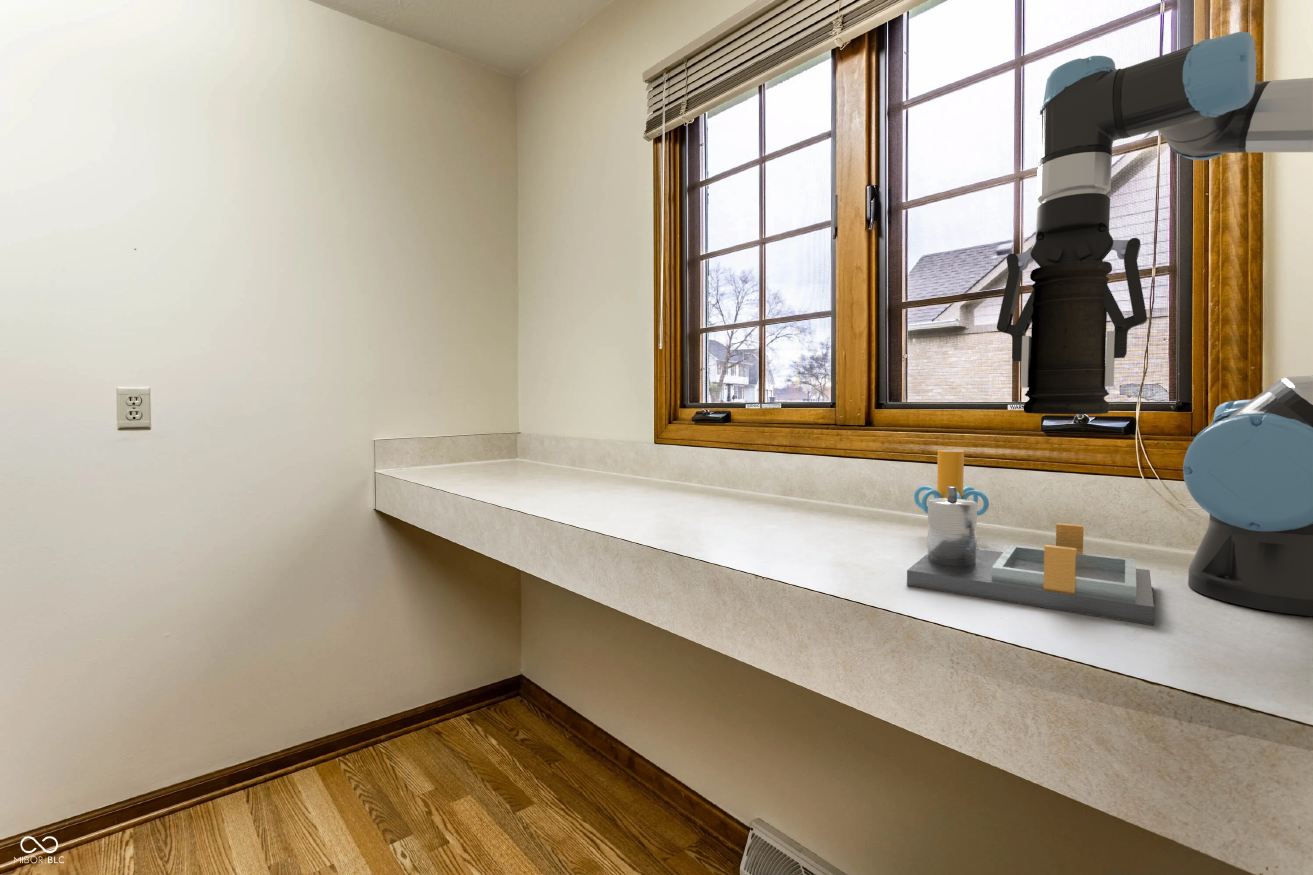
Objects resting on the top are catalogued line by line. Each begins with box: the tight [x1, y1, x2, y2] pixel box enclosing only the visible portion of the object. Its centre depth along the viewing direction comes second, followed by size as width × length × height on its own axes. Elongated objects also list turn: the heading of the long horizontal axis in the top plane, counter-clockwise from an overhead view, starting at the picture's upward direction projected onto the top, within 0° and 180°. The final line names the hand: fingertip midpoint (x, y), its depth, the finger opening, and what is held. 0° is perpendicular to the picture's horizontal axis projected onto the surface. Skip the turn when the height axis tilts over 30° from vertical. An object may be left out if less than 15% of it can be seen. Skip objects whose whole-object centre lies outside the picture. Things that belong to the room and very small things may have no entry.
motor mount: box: [906, 487, 1155, 626], centre depth 80 cm, size 25×17×12 cm
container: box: [1023, 260, 1113, 415], centre depth 78 cm, size 9×9×18 cm
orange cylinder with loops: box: [913, 449, 990, 517], centre depth 107 cm, size 12×10×15 cm
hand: (1066, 386), depth 78 cm, fingers closed on container, 8 cm apart
